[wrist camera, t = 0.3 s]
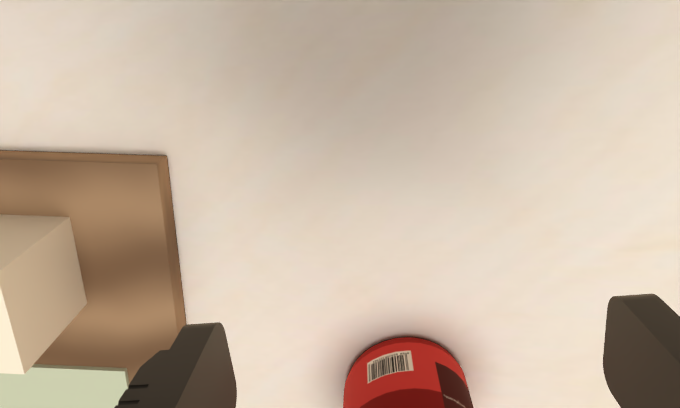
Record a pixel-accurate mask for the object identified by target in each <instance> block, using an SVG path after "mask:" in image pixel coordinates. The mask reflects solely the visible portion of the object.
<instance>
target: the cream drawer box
mask: <svg viewBox="0 0 680 408" xmlns="http://www.w3.org/2000/svg"><path fill="white" fill-rule="evenodd" d="M86 304H87V301H86V296H85V291H84V286H83V281H82V276H81V271H80V266H79V261H78V256H77V251H76V246H75V242H74V237H73V232H72V227H71V222H70V217H56V216H28V215H0V373H5V374H25V373H26V372H27V371H28V370H29V369H30V368H31V367H32V365H33V364H34V363H35V362H36V361H37V360H38V359H39V358H40V356H41V355H42V354H43V353H44V352H45V351H46V350H47V348H48V347H49V346H50V345H51V344H52V343H53V342H54V341H55V339H56V338H57V337H58V336H59V335H60V334H61V333H62V331H63V330H64V329H65V328H66V327H67V326H68V325H69V323H70V322H71V321H72V320H73V319H74V318H75V317H76V316H77V314H78V313H79V312H80V311H81V310H82V309H83V308H84V306H85V305H86Z"/></svg>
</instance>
